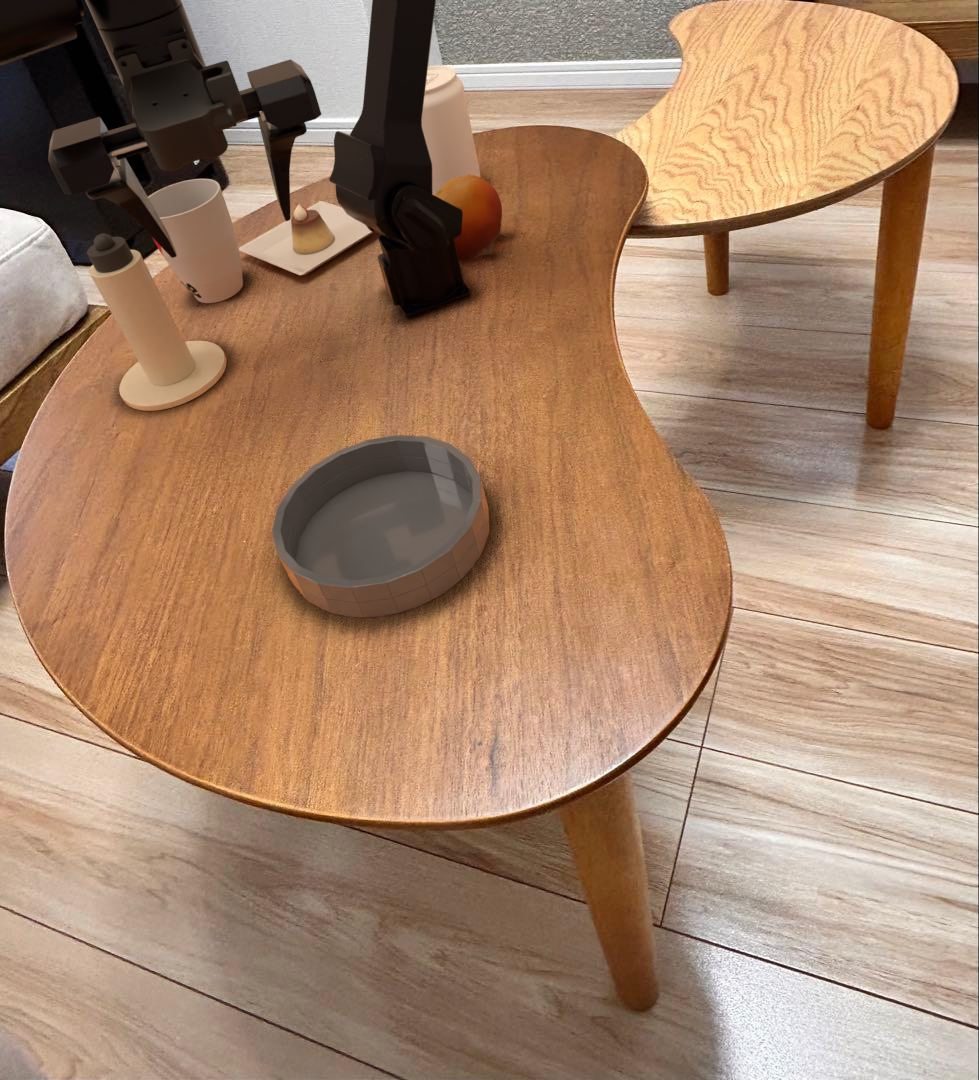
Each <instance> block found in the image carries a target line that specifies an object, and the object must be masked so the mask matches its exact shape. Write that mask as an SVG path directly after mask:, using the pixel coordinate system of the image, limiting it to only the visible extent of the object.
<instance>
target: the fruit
mask: <svg viewBox="0 0 979 1080" xmlns="http://www.w3.org/2000/svg"><path fill="white" fill-rule="evenodd" d="M434 196H436V197H438V198H440V199H442V200H444V201H446V202H448V203H450V204H452V205H453V206H455V207H457V208H459V209H461V210H462V211H463V218H462V231H461V235H460V236H458V237H456V238H454V241H455V246H456V250H457V255H458V259H459V262H462V261H469V260H473V259H475V258H478V257H480V256H485V255H491V256H493V247H494V244H495V242H496V239H497V237H500V236H501V237H504V238H506V237H507V235H506V234H504V233H501V231H502V230H501V229H502V218H503V206H502V201H501V199H500V196H499V194H498V192H497V190H496V188H495V187H494V186H493V185H492V184H491V183H490V182H488V181H487V180H485V179H484V178H483V177H478V176H475V175H466V176H460V177H457V178H454V179H452V180H450V181H449V182H448V183H446V184H445V185H444V186H443V187H442V188H441V189H440V190H439V191H438V192H437V193H436V194H435V195H434Z"/></svg>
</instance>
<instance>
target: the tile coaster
mask: <svg viewBox="0 0 979 1080" xmlns="http://www.w3.org/2000/svg"><path fill="white" fill-rule="evenodd" d="M185 343H186V345H187V347H188V349H189V351H190V353H191V355H192V357H193V359H194V361H195V368H194V370H193V372H192V373H191V374H190V375H189V376H187V377H186V378H185V379H183V380H181V381H179V382H177V383H174V384H171V385H166V386H157V385H154V384H152V383H151V382H150V381H149V379H148V377H147V375H146V374H145V372H144V370H143V368H142V367H141V365H140V363H139V361H138V360H137V362H136V363H134V364H133V365H132V366H131V367H130V368H129V369H128V370H127V371H126V373H125V374H124V375H123V377H122V379H121V381H120V383H119V387H118V388H119V390H118V391H119V395H120V398H121V399H122V401H123V402H124V403H125V405H127V406H128V407H130V408H132V409H134V410H138V411H144V412H147V411H148V412H154V411H162V410H167V409H172V408H175V407H179V406H181V405H184V404H187V403H188V402H190V401H192V400H194V399H197V398H198V397H200V396H201V395H203V394H205V393H206V392H207V391H208V390H210V389H211V388H212V387H213V386H215V384H216V383H218V382H219V380H220V379H221V377H222V376H223V374H224V373H225V371H226V368H227V363H228V362H227V360H228V359H227V357H226V353H225V352H224V349H222V347H221V346H219V345H218V344H216V343H214V342H212V341H207V340H187V341H186V340H185Z"/></svg>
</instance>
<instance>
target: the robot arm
mask: <svg viewBox="0 0 979 1080" xmlns="http://www.w3.org/2000/svg"><path fill="white" fill-rule="evenodd" d="M84 1H85V4H86V5H87V7H88V9H89V12H90V14H91V17H92V18H93V21H94V24H95V25H96V28H97V30H98V32H99V35H100V37H101V39H102V41H103V44H104V46H105V48H106V50H107V52H108V55H109V57H110V59H111V62H112V63H113V66H114V69H115V71H116V72H117V75H118V77H119V80H120V82H121V84H122V86H123V92H124V102H125V104H126V106H127V109H128V111H129V113H130V115H131V117H132V119H133V123H130V124H127V125H124V126H120V127H117V128H113V129H109V130H108V127H107V126H106V124H105V123H104V121H103V119H102V118H101V116H97V117H94V118H91V119H87V120H84V121H81V122H77V123H74V124H71V125H68V126H64V127H61V128H57V129H54V130H53V131H52V134H51V136H50V137H51V138H50V141H49V148H48V158H47V161H48V163H49V166H50V169H51V171H52V173H53V175H54V177H55V179H56V181H57V183H58V185H59V186H60V188H61V190H62V192H63V193H64V195H76V194H78V193H82V192H85V194H86V196H87V197H88V198H89V199H90V200H93V201H94V200H95V201H96V200H99V199H106V200H108V201H110V202H112V203H114V204H116V205H117V206H119V207H120V208H121V209H122V210H124V211H125V212H126V214H128V215H130V216H131V217H132V218H133V219H134V220H135V221H136V222H137V223H138V224H139V225H140V226H141V227H142V228H143V229H144V230H145V231H146V233H148V235H150V237H151V238H152V240H153V239H154V240H155V241H156V242H157V243H158V244H159V245H160V246H161V247H162V248H163V249H164V250H165V251H166V252H167V253H168V254H169V255H170V257H172V258H174V257H177V254H176V250H175V248H174V246H173V243H172V241H171V239H170V236H169V234H168V232H167V230H166V228H165V226H164V225H163V223H162V221H161V219H160V218H159V216H158V214H157V212H156V211H155V209H154V207H153V205H152V204H151V202H150V200H149V198H148V197H149V196H148V194H147V193H146V191H145V190H144V188H143V185H142V184H141V182H140V181H139V179H138V178H137V175H136V174H135V172H134V170H133V168H132V166H131V165H130V164H129V162H128V160H127V158H130V157H133V156H137V155H139V154H143V153H145V152H149V151H150V153H151V155H152V157H153V159H154V161H155V163H156V166H157V167H158V168H159V169H160V170H162V171H164V172H174V171H177V170H180V169H182V168H183V166H184V165H188V164H190V163H193V162H196V161H200V160H203V159H209V160H213V159H215V158H219V157H220V156H222V155H224V153H226V151H227V150H228V147H229V143H228V140H227V138H226V135H225V133H224V131H225V130H228V129H231V128H234V127H237V126H238V125H237V124H240V123H243V122H247V121H250V120H254V119H256V118H257V120H258V125H259V129H260V134H261V137H262V142H263V146H264V150H265V154H266V158H267V159H266V160H267V164H268V167H269V172H270V176H271V179H272V180H271V181H272V183H273V188H274V192H275V196H276V199H277V202H278V205H279V208H280V211H281V214H282V216H283V218H284V222H285V221H289V220H290V218H291V185H290V184H291V182H290V179H291V177H290V171H291V170H290V169H291V168H290V167H291V158H292V151H293V146H294V144H295V141H296V138H298V137H301V136H303V135H305V134H306V133H307V131H308V129H307V124H306V123H308V122H310V121H315V120H316V119H318V118H319V117H320V116H322V110H321V107H320V104H319V101H318V98H317V94H316V91H315V88H314V86H313V84H312V80H311V79H310V76H309V75H308V74H307V73H306V71H305V70H304V69H303V67H302V66H301V65H300V64H298V63H297V62H296V61H295V60H293V59H291V58H290V59H287V60H284V61H281V62H276V63H273V64H271V65H267V66H263V67H261V68H257V69H254V70H250V71H247V72H246V74H247V78H248V81H249V84H250V87H248V88H245V89H242V90H240V89H239V87H238V84H237V82H236V78H235V76H234V73H233V70H232V68H231V64H230V63H229V60H223V61H219V62H216V63H213V64H209V65H206V62H205V60H204V57H203V55H202V52H201V49H200V46H199V44H198V41H197V39H196V36H195V33H194V31H193V28H192V26H191V22H190V20H189V18H188V15H187V12H186V9H185V7H184V4H183V2H182V0H84ZM436 2H437V0H372V1H371V11H370V23H369V35H368V46H367V58H366V68H365V69H366V70H365V79H364V90H363V91H364V92H363V100H362V101H363V103H362V110H361V113H360V116H359V118H358V119H357V121H356V123H355V125H354V127H353V128H352V130H351V132H350V133H346V132H343V131H339V130H337V131H336V132H335V133H334V138H333V152H334V163H333V168H332V172H331V174H330V176H329V179H328V181H329V182H330V183H332V184H334V185H335V198H336V199H337V203H338V204H339V205H340V207H342V208H343V209H344V211H345V212H346V213H347V214H348V215H349V216H351V217H352V218H354V219H355V220H357V221H359V222H361V223H363V224H365V225H366V226H367V228H368V229H369V230H370V231H372V232H374V233H377V234H378V237H377V238H378V242H379V246H380V249H381V253H378V255H377V257H376V258H377V262H378V265H379V268H380V272H381V275H382V279H383V282H384V285H385V289H386V293H387V294H388V296H389V298H390V300H391V302H392V304H393V305H394V306H396V307H399V309H400V311H401V312H402V314H403V316H404V317H405V318H406V319H412V318H414V317H417V316H421V315H422V314H426V313H429V312H432V311H435V310H437V309H440V308H443V307H446V306H449V305H451V304H455V303H458V302H460V301H462V300H466V299H468V298H470V297H471V295H472V294H471V290H470V288H469V287H468V286H467V284H466V283H465V281H464V277H463V274H462V268H461V265H460V261H459V259H458V255H457V250H456V246H455V241H454V238H456V237H458V236H460V235H461V231H462V218H463V211H462V210H461V209H459V208H457V207H455V206H453V205H452V204H450V203H448V202H446V201H444V200H442V199H440V198H438V197H436V196H434V195H432V162H431V158H430V155H429V151H428V147H427V144H426V140H425V136H424V133H423V129H422V112H423V104H424V96H425V87H426V79H427V71H428V66H429V60H430V54H431V45H432V37H433V36H432V35H433V29H434V20H435V12H436ZM84 15H85V8H84V4H83V1H82V0H0V67H3V66H6V65H8V64H11V63H14V62H17V61H19V60H22V59H25V58H27V57H30V56H33V55H36V54H39V53H40V52H41V53H42V52H43V51H47V50H50V49H52V48H55V47H57V46H61V45H62V44H66V43H68V42H71V41H74V40H76V39H77V37H78V30H77V25H79V24H83V22H84V20H83V17H84ZM154 240H153V241H154Z"/></svg>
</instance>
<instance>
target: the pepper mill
mask: <svg viewBox="0 0 979 1080" xmlns="http://www.w3.org/2000/svg"><path fill="white" fill-rule="evenodd" d="M86 255H87V257H88V259H89V260H90V262H91V264H92V265H91V266H90V267H89V269H88V273H89V276H90V277H91V279H92V281H93V283H94V284H95V287H96V288H97V291H98V292H99V294H100V295H101V297H102V299H103V300H104V303H105V304H106V306H107V307H108V309H109V311H110V313H111V315H112V317H113V319H114V321H115V322H116V324H117V326H118V327H119V330H120V331H121V333H122V335H123V336H124V338H125V340H126V342H127V344H128V345H129V347H130V349H131V351H132V353H133V354H134V356H135V357H136V359H137V362H138V361H139V363H140V365H141V367H142V368H143V370H144V372H145V374H146V375H147V377H148V379H149V381H150V382H151V383H152V384H154V385H157V386H166V385H171V384H174V383H177V382H179V381H181V380H183V379H185V378H186V377H187V376H189V375H190V374H191V373H192V372H193V370H194V368H195V361H194V359H193V357H192V355H191V353H190V351H189V349H188V347H187V345H186V343H185V342H186V340H185V339H184V337H183V336H182V333H181V332H180V330H179V328H178V326H177V323H176V322H175V320H174V317H173V316H172V313H171V311H170V309H169V307H168V306H167V303H166V302H165V300H164V297H163V296H162V294H161V292H160V290H159V288H158V286H157V283H156V282H155V279H154V278H153V276H152V274H151V272H150V270H149V268H148V266H147V265H146V262H145V260H144V259H143V256H142V254H141V252H140V251H138V250H136V249H130V247H129V245H128V243H127V241H126V239H125V238H124V237H122V236H111V235H110V234H107V233H99V234H98V235H96V236H95V237H94V240H93V244H92V245H91V246H89V248H88V249H87V251H86Z"/></svg>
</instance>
